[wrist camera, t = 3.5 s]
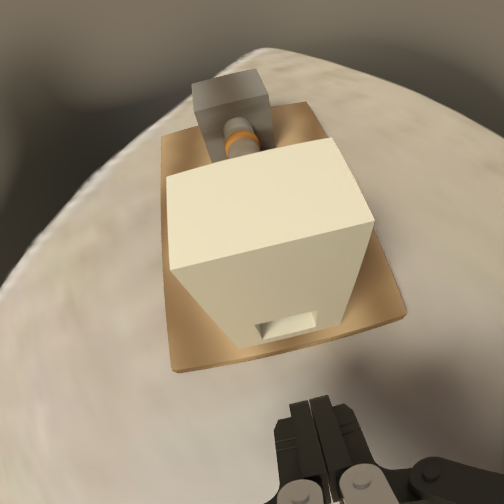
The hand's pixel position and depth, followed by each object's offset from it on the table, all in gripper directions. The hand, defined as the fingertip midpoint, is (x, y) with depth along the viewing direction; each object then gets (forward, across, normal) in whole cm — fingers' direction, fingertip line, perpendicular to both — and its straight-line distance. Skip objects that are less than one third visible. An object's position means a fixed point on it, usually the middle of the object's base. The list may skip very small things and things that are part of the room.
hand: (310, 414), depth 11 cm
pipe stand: (+18, 0, -6) cm, 18 cm away
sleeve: (+10, 0, 0) cm, 10 cm away
